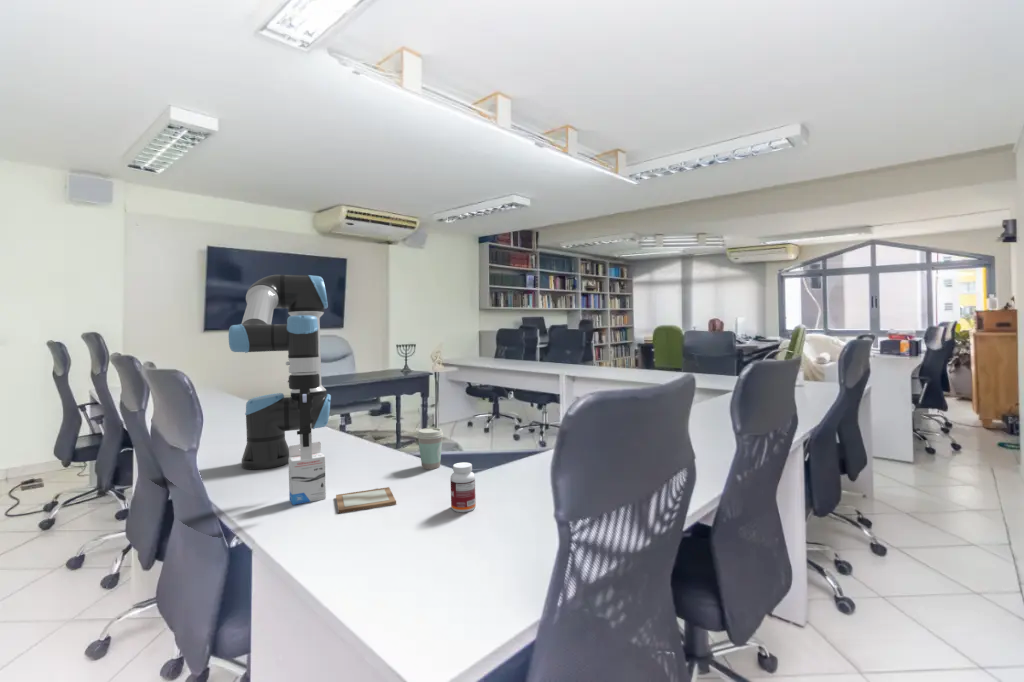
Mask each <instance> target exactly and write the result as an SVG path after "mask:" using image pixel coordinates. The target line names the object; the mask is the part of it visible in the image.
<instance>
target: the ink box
mask: <svg viewBox="0 0 1024 682" xmlns="http://www.w3.org/2000/svg"><path fill="white" fill-rule="evenodd" d="M321 446H322V444H321V442H320V441H315V442H312V459H305V460H301V458H300V443H299V444H291V445H288V447H289V463H288V486H289V487H288V489H289V492H288V493H289V502H290V504H291V505H292V506H296V505H300V504H301V505H302V504H305V503H310V502H311V503H312V502H315V501H321V500H326V499H327V495H326V494H327V492H326V491H327V489H326V488H327V487H326V455H324V453H322V449H321V448H322V447H321Z"/></svg>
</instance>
